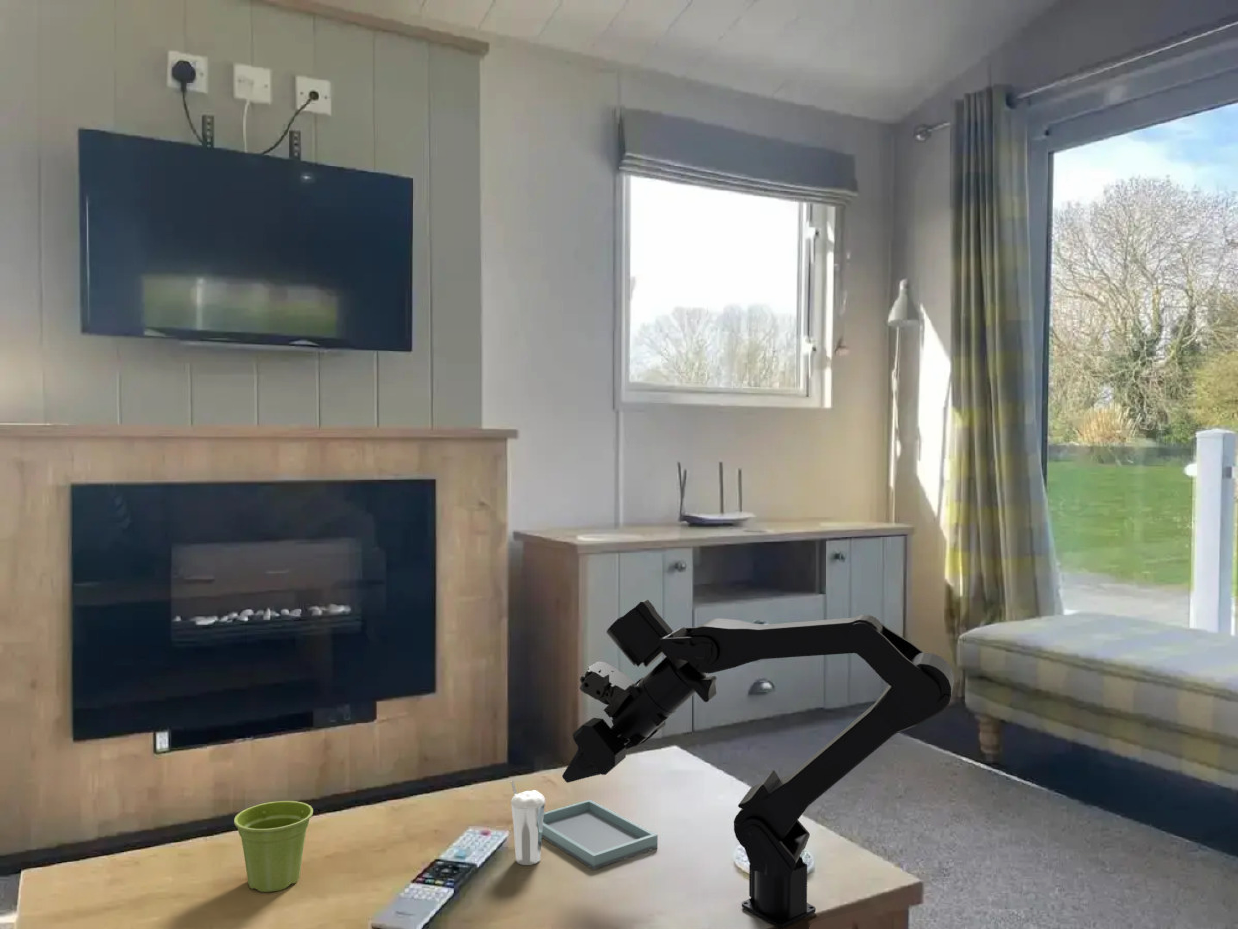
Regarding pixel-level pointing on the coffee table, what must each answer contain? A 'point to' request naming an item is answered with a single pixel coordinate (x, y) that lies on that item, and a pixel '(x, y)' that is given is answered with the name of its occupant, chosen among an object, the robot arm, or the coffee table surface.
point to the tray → (595, 834)
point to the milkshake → (527, 825)
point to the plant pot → (273, 842)
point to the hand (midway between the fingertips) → (580, 767)
